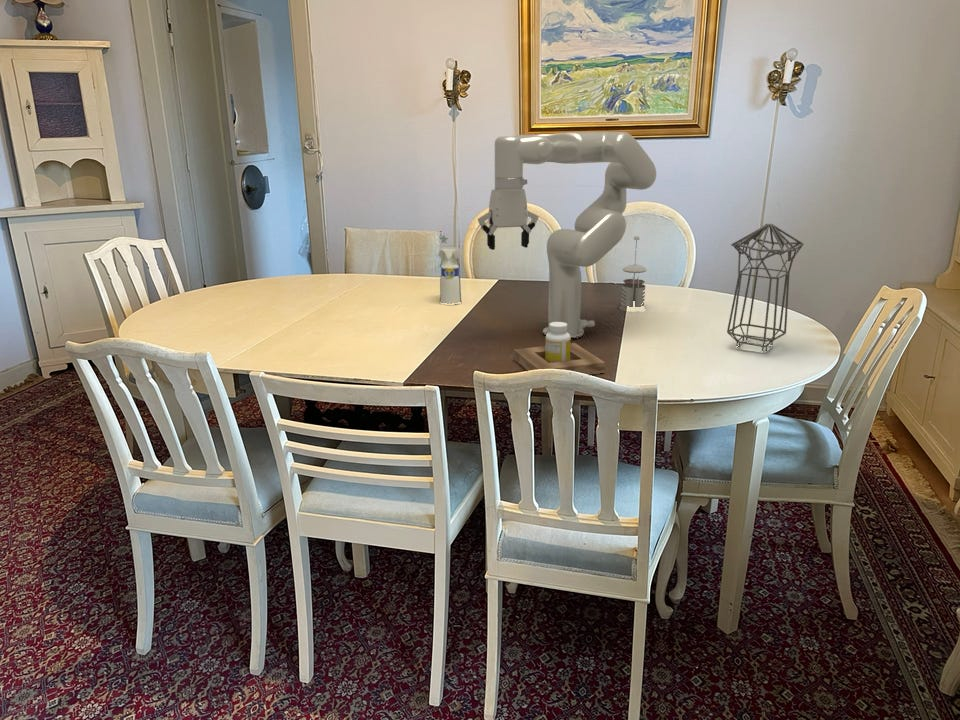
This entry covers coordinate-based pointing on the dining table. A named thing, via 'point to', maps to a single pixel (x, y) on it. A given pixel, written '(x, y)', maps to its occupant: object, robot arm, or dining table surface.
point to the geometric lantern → (781, 251)
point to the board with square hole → (578, 356)
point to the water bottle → (450, 274)
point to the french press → (633, 285)
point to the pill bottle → (557, 343)
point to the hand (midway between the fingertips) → (508, 247)
